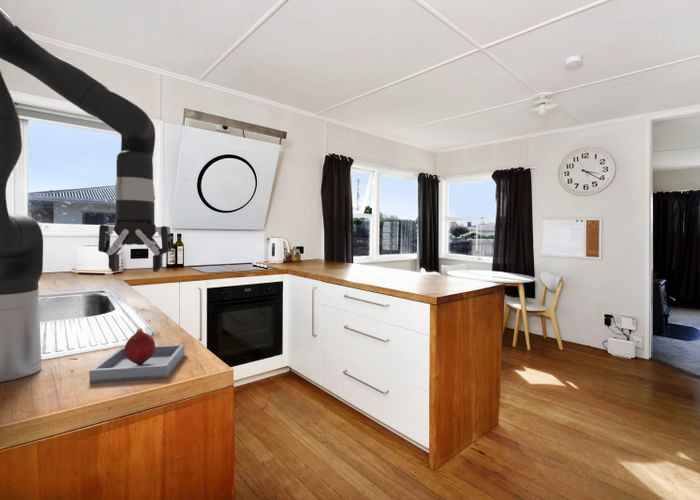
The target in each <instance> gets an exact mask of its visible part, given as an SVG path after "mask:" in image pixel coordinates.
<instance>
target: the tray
mask: <svg viewBox="0 0 700 500" xmlns="http://www.w3.org/2000/svg"><path fill="white" fill-rule="evenodd" d="M124 350H125V347H119V348H118V349H117V350H115V351H114V352H113V353H111V354H110V355H109V356H107V357H106V358H105V359H103V360H102V361H100V362H99V363H98V364H96V365H95V366H94V367H92V368H91V369H90V370H89V372H88V374H89V376H88V379H89V380H88V381H89V384H98V383H114V382H128V381H141V380H143V381H144V380H157V379H159V380H160V379H168V377H169V376H170V375H171V373H172V372H173V370H174V369H175V368H176V367H177V365H178V364H179V363H180V362H181V360H182V359H183V358H184V357H185V344H171V345H170V344H168V345H167V344H166V345H155V351H154V353H153V355H152V356H151V357H150V358H149V359H148V360H147V361H146V362H145V363H143V364H142V365H137V364H135V363H133V362H131V361H130V360H129V359H128V358H127V357H126V356H125V352H124Z"/></svg>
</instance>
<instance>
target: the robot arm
mask: <svg viewBox="0 0 700 500" xmlns="http://www.w3.org/2000/svg"><path fill="white" fill-rule="evenodd" d="M0 59H1V60H2V61H4V62H5V61H6V62H7V63H9V64H11V65H13V66H15V67H17V68H19V69H21V70H22V71H24V72H25V73H28V74H29V75H30V76H32V77H34V78H35V79H37V80H38V81H40V82H41V83H43V84H44V85H45V86H47V88H49V89H50V90H52V91H54V92H55V93H56V94H58V95H59V96H61V97H62V98H63V99H65V100H67V101H68V102H69V103H71V104H72V105H74V106H75V107H77V108H78V109H80V110H82V111H83V112H84V113H86V114H88V115H91V116H92V117H94V118H97V119H98V120H100V121H102V122H103V123H104V124H105V125H107V126H109V127H110V128H111V129H113V130H114V131H116V132H117V133H118V134H120V135H121V136H120V137H121V141H120V142H121V143H120V152H118V154H117V156H116V171H115V172H116V182H115V191H114V192H115V225H109V224H101V225H99V231H98V246H97V247H98V249H97V250H98V252H101V253H105V254H106V255H107V257H108V268H109V270H111V272H112V273H117V272H119V271H120V255H119V252H121V250H122V249H123V248H124V247H125V246H126V245H127V246H128V245H129V246H133V245H138V246H144V245H145V246H146V247H147V248H148V249H150V251H151V252H152V254H154V255H152V272H153V273H158V272H160V270H161V269H162V268H163V255H164V254H167V253H170V252H172V241H171V227H170V226H167V225H164V226H163V225H162V226H156V224H155V222H156V221H155V219H156V218H155V213H156V212H155V200H156V196H155V187H154V164H153V157H154V151H155V145H156V144H155V143H156V130H155V125H154V123H153V121H152V119H151V118H150V117H149V115H148V114H147V113H146V112H145V111H144V110H143V109H142V108H141V107H139V105H137V104H135V103H134V102H132V101H130V100H128V99H127V98H125V97H124V96H122V95H119V94H118V93H116V92H114V91H112V90H111V89H110V88H108V86H106V85H105V84H103V83H102V82H100V81H99V80H98V79H96V78H95V77H93V76H91V75H90V74H89V73H86V71H84V70H83V69H81V68H79V67H78V66H76V65H74V64H73V63H71V62H69V61H67V60H65V59H63V58H60V57H59V56H57V55H56V54H53V53H52V52H50V51H48V50H47V49H46V48H44V47H42V46H41V45H40V44H39V43H37V42H36V41H34V40H33V39H32V38H31V37H30V36H29V35H28V34H27V33H25V32H24V31H23V29H21V28H20V27H19V26H18V25H16V23H15V22H13V20H12V19H11V17H10V16H9V15H8V14H7V13H6V12H5V10H3V8H1V7H0ZM21 130H22V128H21V123H20V117H19V113H18V110H17V107H16V105H15V101H14V99H13V97H12V95H11V92H10V90H9V88H8V86H7V84H6V81H5V79H4V76H3V75H2V71H1V70H0V383H1V382H7V381H13V380H18V379H21V378H25V377H29V376H31V375H34V374H35V373H38V372H39V371H41V370H42V361H43V360H42V347H41V346H42V342H41V320H40V297H39V296H40V295H39V293H40V292H39V281H40V279H41V277H42V274H43V270H44V267H43V265H44V261H43V260H44V236H43V232H42V229H41V226H40V225H39V223H38V222H37V220H36V219H34V218H33V217H31V216H29V215H28V214H27V215H26V214H22V213H10V212H9V211H8V204H7V184H8V181H9V178H10V176H11V174H12V172H13V170H14V168H15V167H16V165H17V163H18V161H19V160H20V157H21V154H22V150H23V141H22V131H21ZM114 233H115V234H116V235H117V236H118V237H117V238H116V239H115V241H114V242H113V243H112V245H111V236H113V234H114ZM156 233H158V236H161V237H160V238H161V247H160V245H159V244H158V242H157V241H156V240H155V238H154V236H155V234H156Z"/></svg>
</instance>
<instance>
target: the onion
mask: <svg viewBox="0 0 700 500" xmlns="http://www.w3.org/2000/svg"><path fill="white" fill-rule="evenodd" d="M155 346H156V343H155V340H154V338H153V337H152V336H151V335H150V334H149V333H146V332H144V331H143V328H140V327H138V328H137V329H136V332H135V334H133V335H131V336H130V337H129V339H127V340H126V343H125V346H124V348H125V350H124V352H125V356H126V357H127V358H128V359H129V360H130V361H131V362H133V363H135V364H137V365H142V364H143V363H145V362H146V361H147V360H148V359H149V358H150V357H151V356H152V355H153V353H154V351H155Z"/></svg>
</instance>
